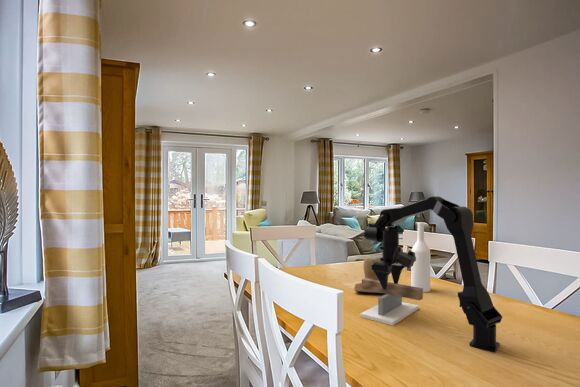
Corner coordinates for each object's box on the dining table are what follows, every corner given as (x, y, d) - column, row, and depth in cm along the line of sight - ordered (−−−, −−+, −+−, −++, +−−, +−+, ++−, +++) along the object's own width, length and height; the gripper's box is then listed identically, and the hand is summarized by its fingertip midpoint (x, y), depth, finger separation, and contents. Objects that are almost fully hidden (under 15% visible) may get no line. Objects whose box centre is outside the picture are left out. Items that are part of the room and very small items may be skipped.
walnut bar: (361, 288, 132) (361, 279, 132) (365, 287, 134) (365, 277, 134) (419, 300, 118) (419, 290, 118) (422, 298, 120) (422, 288, 120)
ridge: (393, 325, 114) (393, 304, 114) (360, 316, 122) (360, 296, 122) (418, 308, 130) (418, 289, 130) (388, 302, 138) (388, 284, 138)
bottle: (431, 292, 151) (431, 223, 151) (411, 291, 153) (411, 223, 153) (429, 287, 159) (429, 222, 159) (410, 286, 161) (410, 221, 161)
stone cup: (388, 288, 157) (388, 255, 157) (391, 296, 146) (391, 260, 146) (354, 287, 160) (354, 254, 160) (354, 294, 149) (354, 259, 148)
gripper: (401, 249, 114) (401, 297, 114) (422, 243, 128) (422, 285, 128) (370, 246, 121) (370, 290, 121) (393, 240, 135) (393, 280, 135)
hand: (390, 287), depth 126 cm, fingers open, 9 cm apart
